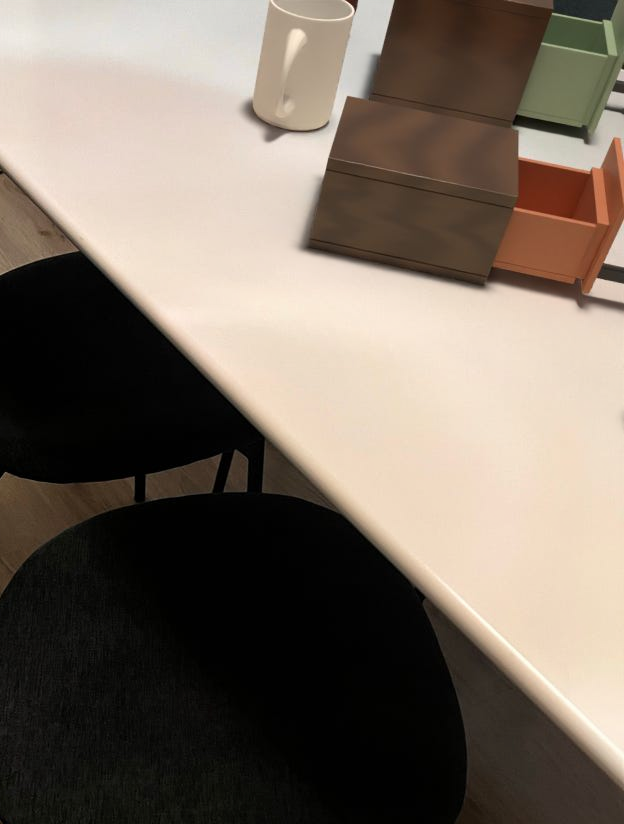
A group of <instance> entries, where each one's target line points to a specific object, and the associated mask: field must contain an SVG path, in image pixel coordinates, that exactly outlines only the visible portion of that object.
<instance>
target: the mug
mask: <svg viewBox="0 0 624 824" xmlns="http://www.w3.org/2000/svg"><path fill="white" fill-rule="evenodd" d="M354 13H355V14H356V12H355V11H354V8H353V6H352V5H351V4H350V3H348V2H347V1H345V0H269V1H268V7H267V13H266V18H265V23H264V24H265V25H264V30H263V36H262V44H261V48H260V55H259V61H258V66H257V72H256V78H255V84H254V91H253V96H252V109H253V111H254V113H255V115H256V116H257V117H258V118H259V119H261V120H262V121H263V122H265V123H267V124H269V125H270V126H274V127H276V128H280V129H285V130H290V131H298V132H299V131H313V130H317V129H320V128H322V127H323V126H325V125H326V124H327V123H328V122H329V120H330V118H331V116H332V113H333V110H334V105H335V101H336V96H337V93H338V87H339V83H340V79H341V75H342V70H343V66H344V62H345V58H346V57H345V56H346V52H347V48H348V44H349V40H350V35H351V30H352V27H353V21H354V18H355V15H354Z"/></svg>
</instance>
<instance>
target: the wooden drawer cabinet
mask: <svg viewBox="0 0 624 824" xmlns="http://www.w3.org/2000/svg"><path fill="white" fill-rule="evenodd" d="M552 13H554V0H393V3H392V7H391V11H390V16H389V20H388V24H387V28H386V32H385V35H384V39H383V44H382V47H381V52H380V56H379V59H378V64H377V67H376V72H375V76H374V80H373V83H372V88H371V92H370V94H369V95H370V96H369V98H368V100H371V101H376V102H381V103H386V104H391V105H396V106H401V107H406V108H411V109H416V110H421V111H426V112H431V113H435V114H440V115H445V116H450V117H455V118H460V119H465V120H470V121H475V122H480V123H485V124H490V125H495V126H500V127H505V128H510V129H512V126H513V123H514V121H515V119H516V115H517V114H516V113H517V110H518V107H519V104H520V102H521V99H522V96H523V93H524V90H525V88H526V85H527V82H528V79H529V77H530V74H531V71H532V68H533V65H534V63H535V60H536V57H537V54H538V51H539V49H540V46H541V43H542V40H543V37H544V35H545V32H546V29H547V26H548V24H549V21H550V18H551V15H552Z"/></svg>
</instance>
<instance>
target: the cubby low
mask: <svg viewBox="0 0 624 824" xmlns="http://www.w3.org/2000/svg"><path fill="white" fill-rule="evenodd" d="M519 131H520V130H518V129H514V128H511V129H510V128H505V127H500V126H495V125H490V124H485V123H480V122H475V121H470V120H465V119H460V118H455V117H450V116H445V115H440V114H435V113H431V112H426V111H421V110H416V109H411V108H406V107H401V106H396V105H391V104H386V103H381V102H376V101H371V100H369V99H366V98H360V97H356V96H351V95H346V99H345V101H344V104H343V108H342V111H341V115H340V118H339V120H338V124H337V128H336V131H335V134H334V137H333V141H332V143H331V147H330V150H329V151H330V152H329V154H328V158H327V161H326V166H325V169H324V175H323V178H322V183H321V188H320V192H319V196H318V201H317V204H316V209H315V213H314V218H313V223H312V227H311V231H310V235H309V239H308V244H307V247H308V248H313V249H317V250H321V251H325V252H331V253H336V254H340V255H343V256H344V255H345V256H349V257H353V258H359V259H363V260H368V261H372V262H376V263H382V264H387V265H390V266H395V267H400V268H405V269H410V270H412V271H413V270H414V271H418V272H424V273H429V274H432V275H437V276H441V277H446V278H450V279H456V280H459V281H464V282H470V283H474V284H478V285H482V286H485V285H486V283H487V281H488V277H489V275H490V272H491V269H492V268H493V267H492V265H493V262H494V259H495V257H496V254H497V251H498V249H499V246H500V244H501V241H502V238H503V236H504V233H505V231H506V228H507V225H508V223H509V220H510V218H511V215H512V212H513V210H514V207H515V204H516V202H517V199H518V157H519V152H520V151H519V147H520V146H519V145H520V144H519V141H520V139H519V138H520V132H519Z"/></svg>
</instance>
